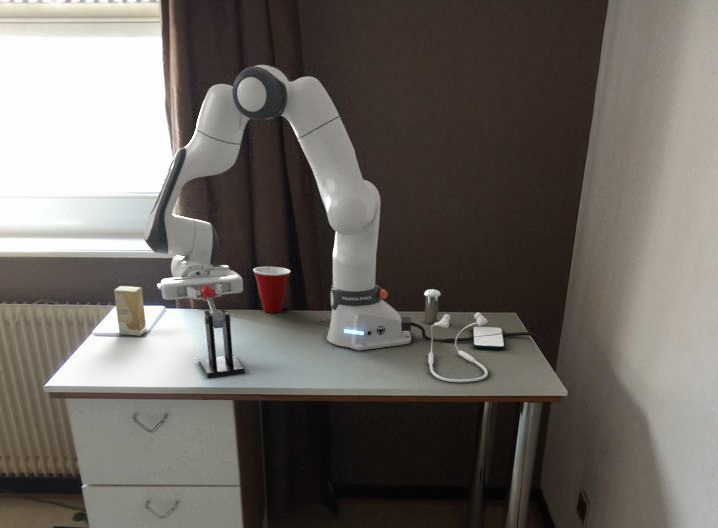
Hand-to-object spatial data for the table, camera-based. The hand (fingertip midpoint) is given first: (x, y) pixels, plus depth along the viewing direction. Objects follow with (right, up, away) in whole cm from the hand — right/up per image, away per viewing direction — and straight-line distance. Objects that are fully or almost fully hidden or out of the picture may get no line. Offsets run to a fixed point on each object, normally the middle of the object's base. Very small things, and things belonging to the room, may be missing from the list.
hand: (208, 294), depth 182 cm
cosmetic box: (-25, -4, +24) cm, 35 cm away
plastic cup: (+12, +7, +42) cm, 45 cm away
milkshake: (+58, +1, +33) cm, 67 cm away
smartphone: (+71, -7, +20) cm, 74 cm away
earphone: (+60, -17, +3) cm, 62 cm away
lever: (+1, -4, 0) cm, 5 cm away
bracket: (+3, -18, +2) cm, 18 cm away
